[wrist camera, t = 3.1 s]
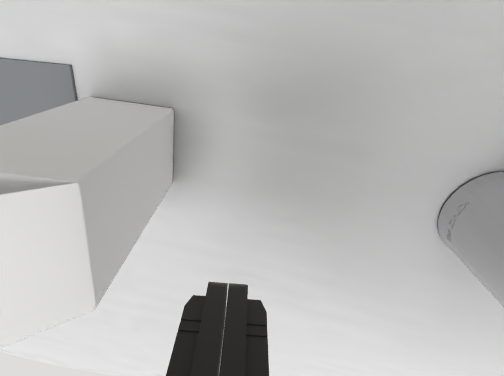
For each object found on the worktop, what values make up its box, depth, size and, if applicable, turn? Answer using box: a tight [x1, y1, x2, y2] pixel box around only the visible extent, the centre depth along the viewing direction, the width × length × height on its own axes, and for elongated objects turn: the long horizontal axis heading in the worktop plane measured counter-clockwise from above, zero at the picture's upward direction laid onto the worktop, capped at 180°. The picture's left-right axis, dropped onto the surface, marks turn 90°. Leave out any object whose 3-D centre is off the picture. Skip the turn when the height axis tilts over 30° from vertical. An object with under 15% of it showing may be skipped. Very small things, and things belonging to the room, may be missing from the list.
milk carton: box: [0, 97, 174, 348], centre depth 18 cm, size 7×7×19 cm
